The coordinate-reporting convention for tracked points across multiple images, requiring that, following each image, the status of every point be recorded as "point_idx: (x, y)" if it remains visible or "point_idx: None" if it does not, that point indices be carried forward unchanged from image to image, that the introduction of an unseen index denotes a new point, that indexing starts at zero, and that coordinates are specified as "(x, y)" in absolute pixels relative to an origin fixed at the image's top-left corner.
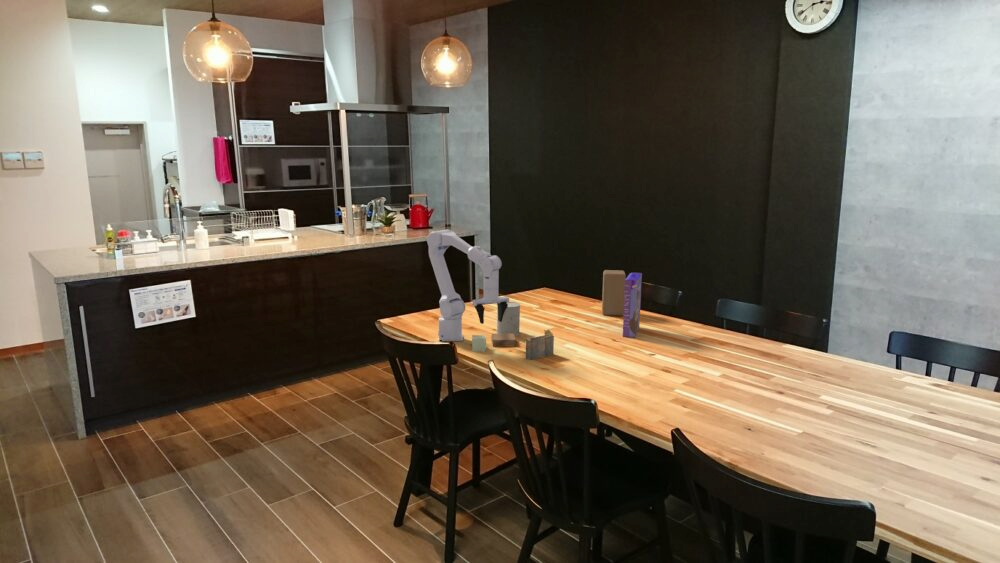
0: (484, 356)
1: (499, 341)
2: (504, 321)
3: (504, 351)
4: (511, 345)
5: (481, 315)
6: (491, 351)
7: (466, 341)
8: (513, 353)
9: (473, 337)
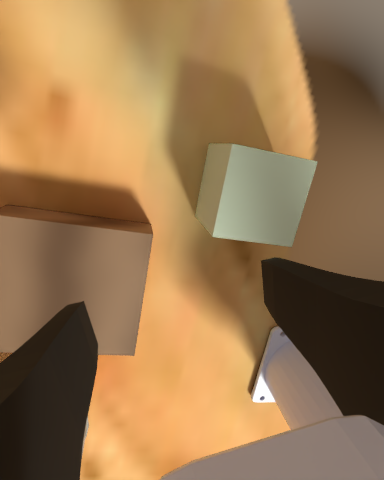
0: (242, 35)
1: (110, 226)
2: None
3: (100, 106)
4: (36, 209)
5: (346, 276)
6: (179, 128)
7: (257, 320)
8: (44, 40)
9: (302, 192)
